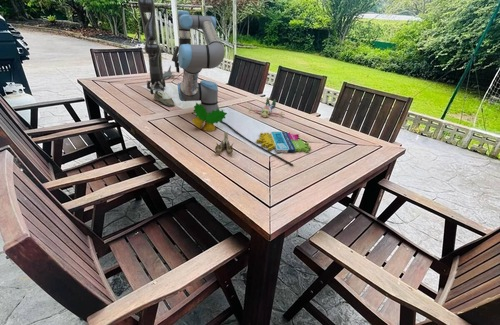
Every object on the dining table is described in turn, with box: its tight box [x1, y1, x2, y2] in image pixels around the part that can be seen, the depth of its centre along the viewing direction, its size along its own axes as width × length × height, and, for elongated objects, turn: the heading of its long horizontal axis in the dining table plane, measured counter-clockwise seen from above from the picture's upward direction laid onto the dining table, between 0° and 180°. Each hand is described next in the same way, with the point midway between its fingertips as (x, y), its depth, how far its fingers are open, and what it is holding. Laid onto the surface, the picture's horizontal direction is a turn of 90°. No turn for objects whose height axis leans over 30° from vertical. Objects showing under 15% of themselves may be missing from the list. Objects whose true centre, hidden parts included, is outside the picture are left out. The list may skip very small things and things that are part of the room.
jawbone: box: [214, 131, 234, 156], centre depth 136 cm, size 9×15×10 cm
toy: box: [247, 97, 285, 118], centre depth 199 cm, size 28×7×30 cm
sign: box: [256, 131, 312, 154], centre depth 152 cm, size 26×2×30 cm
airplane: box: [163, 65, 181, 80], centre depth 275 cm, size 38×31×10 cm
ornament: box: [191, 101, 228, 132], centre depth 162 cm, size 21×8×15 cm, turn 105°
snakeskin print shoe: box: [153, 90, 176, 107], centre depth 202 cm, size 8×25×9 cm, turn 45°
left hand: (157, 93), depth 207 cm, fingers open, 8 cm apart
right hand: (186, 71), depth 181 cm, fingers open, 13 cm apart
